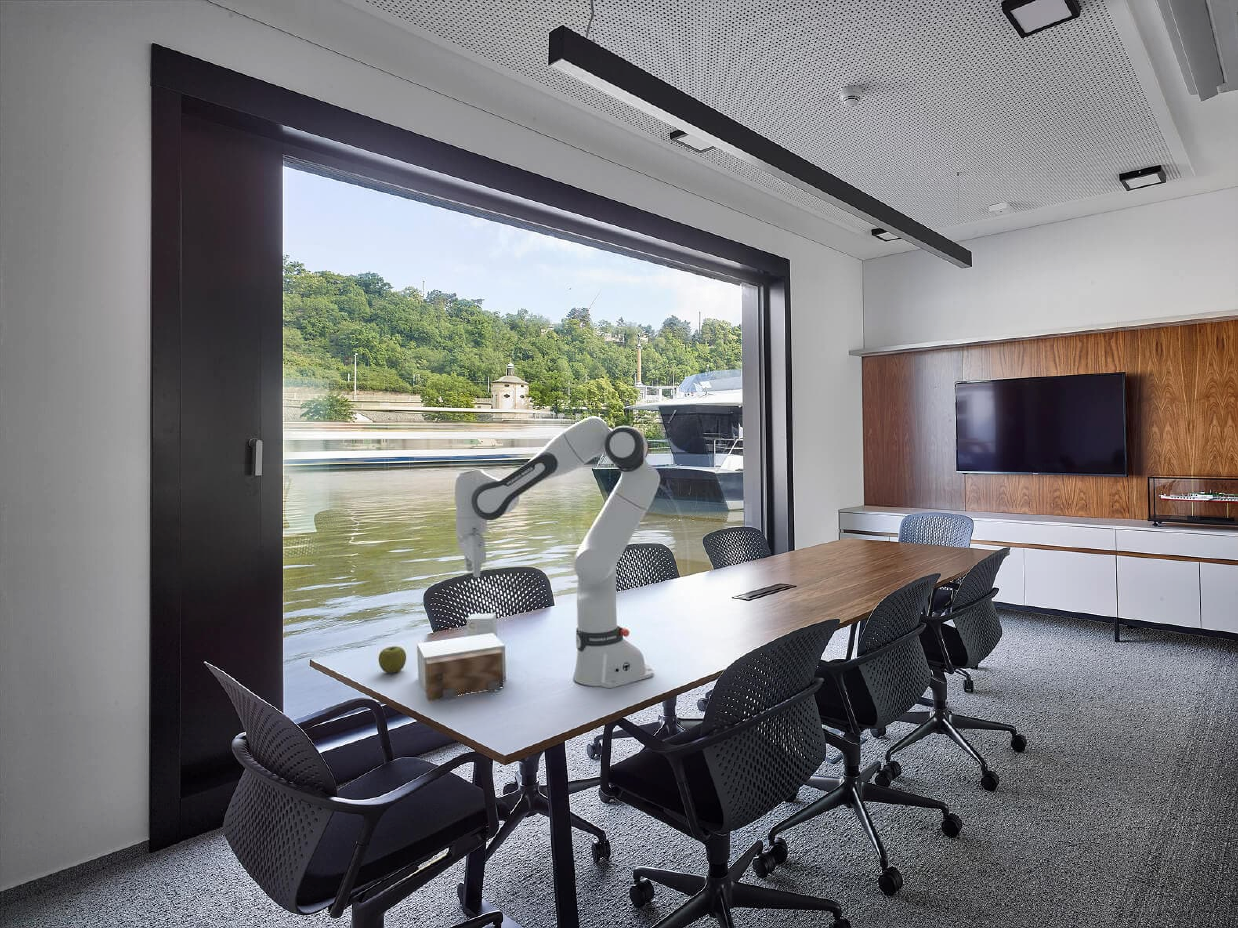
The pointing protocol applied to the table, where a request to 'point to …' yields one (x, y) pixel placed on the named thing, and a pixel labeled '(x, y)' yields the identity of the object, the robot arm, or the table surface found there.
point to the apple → (392, 659)
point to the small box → (481, 624)
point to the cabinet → (455, 649)
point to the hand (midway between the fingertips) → (473, 574)
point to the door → (463, 673)
